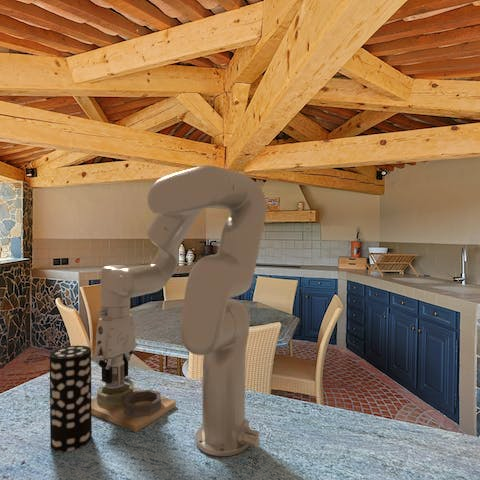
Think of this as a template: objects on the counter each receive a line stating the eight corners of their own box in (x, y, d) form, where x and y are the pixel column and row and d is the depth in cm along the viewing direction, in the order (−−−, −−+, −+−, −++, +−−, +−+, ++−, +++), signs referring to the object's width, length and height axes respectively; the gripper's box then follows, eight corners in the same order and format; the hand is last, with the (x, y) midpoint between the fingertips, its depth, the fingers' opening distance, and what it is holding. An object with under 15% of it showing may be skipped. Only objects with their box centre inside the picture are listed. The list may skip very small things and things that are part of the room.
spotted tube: (52, 434, 82) (51, 348, 82) (91, 426, 86) (90, 343, 85) (48, 455, 75) (47, 360, 74) (91, 446, 78) (91, 355, 77)
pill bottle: (118, 379, 101) (118, 350, 100) (127, 384, 98) (127, 354, 97) (102, 385, 97) (102, 354, 97) (111, 390, 94) (111, 358, 94)
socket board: (175, 406, 96) (175, 391, 96) (136, 432, 84) (136, 415, 84) (123, 389, 106) (123, 375, 106) (81, 409, 94) (80, 394, 94)
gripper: (98, 320, 87) (97, 394, 88) (148, 307, 102) (148, 371, 103) (78, 316, 91) (78, 387, 92) (129, 304, 106) (129, 365, 106)
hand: (115, 377), depth 97 cm, fingers closed on pill bottle, 4 cm apart
